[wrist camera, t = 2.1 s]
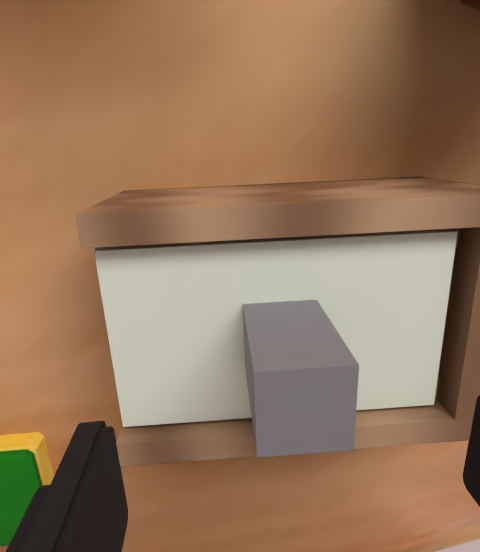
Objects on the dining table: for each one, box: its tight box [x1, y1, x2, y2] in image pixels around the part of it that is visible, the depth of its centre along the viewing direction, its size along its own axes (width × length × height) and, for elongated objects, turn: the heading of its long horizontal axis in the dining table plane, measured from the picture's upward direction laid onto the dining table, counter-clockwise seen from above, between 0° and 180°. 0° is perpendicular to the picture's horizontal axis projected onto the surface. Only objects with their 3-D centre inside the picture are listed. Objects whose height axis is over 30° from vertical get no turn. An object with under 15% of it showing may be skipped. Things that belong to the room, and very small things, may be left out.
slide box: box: [75, 177, 480, 467], centre depth 19 cm, size 16×11×8 cm
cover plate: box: [94, 229, 458, 458], centre depth 14 cm, size 14×8×6 cm, turn 92°
